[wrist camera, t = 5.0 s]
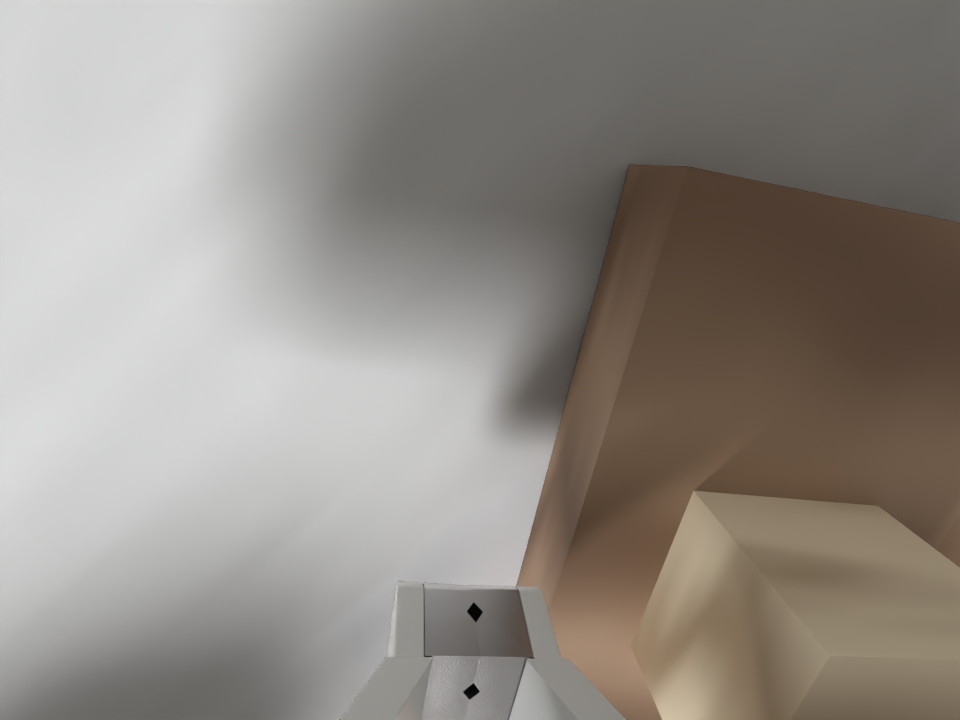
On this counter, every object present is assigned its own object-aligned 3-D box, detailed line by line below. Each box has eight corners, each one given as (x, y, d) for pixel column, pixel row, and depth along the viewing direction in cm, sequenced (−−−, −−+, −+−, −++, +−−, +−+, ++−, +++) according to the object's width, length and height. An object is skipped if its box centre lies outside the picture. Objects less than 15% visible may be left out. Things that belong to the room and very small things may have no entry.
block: (795, 649, 14) (933, 830, 10) (630, 646, 13) (714, 841, 9) (878, 505, 12) (1082, 660, 8) (693, 490, 11) (830, 655, 7)
